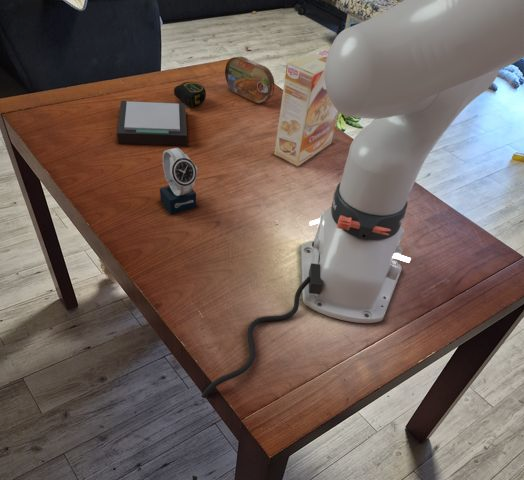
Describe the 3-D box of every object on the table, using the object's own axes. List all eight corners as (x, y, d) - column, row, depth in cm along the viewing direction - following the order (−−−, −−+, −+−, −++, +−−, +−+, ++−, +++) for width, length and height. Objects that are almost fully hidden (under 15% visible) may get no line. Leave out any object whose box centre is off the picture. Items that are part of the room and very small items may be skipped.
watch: (175, 220, 89) (173, 167, 81) (156, 197, 93) (152, 144, 84) (201, 212, 92) (201, 160, 83) (182, 190, 95) (180, 138, 87)
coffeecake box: (298, 167, 105) (314, 74, 90) (272, 154, 107) (284, 61, 92) (332, 143, 113) (353, 54, 98) (308, 132, 115) (325, 43, 100)
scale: (187, 145, 106) (186, 132, 103) (118, 143, 103) (116, 130, 101) (185, 113, 115) (185, 100, 112) (122, 110, 112) (120, 97, 110)
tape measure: (172, 99, 118) (172, 83, 116) (195, 93, 122) (195, 78, 119) (188, 111, 116) (188, 95, 113) (210, 105, 119) (211, 89, 116)
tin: (223, 87, 126) (224, 52, 119) (231, 84, 127) (233, 49, 121) (266, 109, 121) (270, 74, 114) (274, 105, 122) (278, 70, 116)
